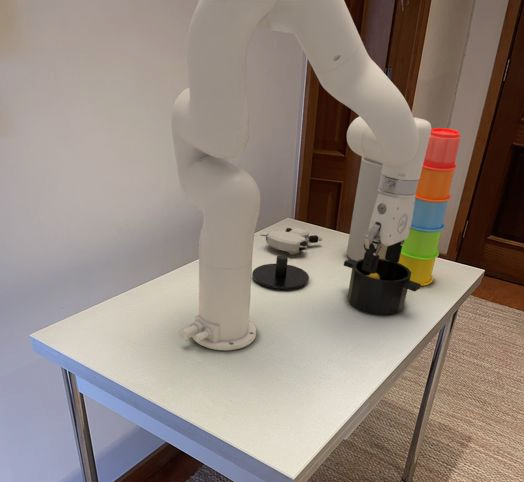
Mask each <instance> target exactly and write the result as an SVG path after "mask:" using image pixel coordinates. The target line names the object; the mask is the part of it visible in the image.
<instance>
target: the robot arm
mask: <svg viewBox="0 0 524 482" xmlns="http://www.w3.org/2000/svg"><path fill="white" fill-rule="evenodd" d="M196 1H197V3H198V4H197V5H196V7H195V10H194V12H193V13H192V17H191V20H190V23H189V26H188V31H187V37H186V65H187V78H188V79H187V81H188V87H187V88H185V89H184V90H183V91H181V93H180V94H179V95H178V96H177V97H176V99H175V102H174V104H173V107H172V111H171V119H170V120H171V122H170V123H171V132H172V133H171V134H172V141H173V147H174V155H175V162H176V167H177V174H178V180H179V185H180V188H181V191H182V193H183V195H184V197H185V198H186V199H187V200H188V201H189V203H191V204H192V206H194V207H195V208H197V210H199V211H200V212H201V213H203V221H202V226H201V230H200V232H199V233H200V234H199V238H198V314H197V315H194V321H193V322H192V323H191V325H190V326H187V327H185V328H183V329H181V330H179V333H178V335H179V337H180V339H182V340H183V341H186V340H188V339H190V338H192V340H193V341H194V342H195V343H197V344H198V345H200V346H202V347H204V348H207V349H209V350H210V349H211V350H215V351H232V350H233V351H234V350H238V349H242V348H245V347H247V346H249V345H251V344H252V343H253V342H254V341H255V339H256V337H257V327H256V325H255V324H254V323H253V322H252V321H251V320H250V309H251V307H250V306H251V291H252V289H251V288H252V274H253V255H254V254H253V252H254V241H255V235H256V234H255V232H256V229H257V228H256V227H257V223H258V219H259V215H260V211H261V204H262V197H261V192H260V188H259V186H258V184H257V182H256V181H255V179H254V178H253V176H251V174H250V173H248V172H247V171H246V170H244V168H241V167H240V166H237V165H235V164H234V163H232V162H229V161H228V160H231V159H234V158H236V157H238V156H239V155H241V153H243V152H244V150H245V149H246V147H247V144H248V141H249V138H250V119H249V118H250V117H249V105H248V90H247V88H248V87H247V69H246V68H247V51H248V49H249V44H250V41H251V38H252V36H253V34H254V32H255V31H256V29H260V30H264V31H265V30H266V31H272V32H279V33H285V34H286V33H287V34H293V35H294V36H295V38H296V40H297V43H298V44H299V46H300V47H301V49H302V51H303V52H304V55H305V57H306V59H307V60H308V62H309V65H310V66H311V68H312V69H313V70H312V71H314V74H315V76H316V77H317V79H318V81H319V83H320V85H321V86H322V88H323V89H324V90H325V91H326V92H327V93H328V94H329V95H331V96H332V97H333V98H334V99H335V100H337V101H338V102H340V103H341V104H342V105H345V107H347V108H349V109H350V110H351V111H353V112H354V113H355V114H356V115H358V117H356V118H354V120H353V121H352V122H351V123H350V124H349V126H348V128H347V131H346V142H347V145H348V147H349V148H350V149H351V151H352V152H353V153H355V154H356V155H358V156H360V157H361V158H362V157H365V158H368V159H370V160H374V161H376V162H379V163H382V164H383V167H382V172H381V177H380V182H379V187H378V191H379V193H378V196H377V199H376V203H375V206H374V209H373V213H372V217H371V221H370V226H369V231H368V232H367V233H366V235H365V236H364V252H365V254H364V259H363V264H362V270H364V271H367V272H369V273H372V274H375V273H376V270H377V266H378V261H379V257H380V256H379V255H378V253H379V252H380V250H381V248H382V246H383V244H384V245H385V246H387V251H386V255H385V259H386V260H389V261H391V262H394V263H398V262H399V258H400V254H401V250H402V245H403V244H404V240H405V239H406V238H407V237H408V236H409V232H410V227H411V223H412V217H413V212H414V205H415V196H416V192H417V188H418V184H419V180H420V175H421V171H422V167H423V163H424V159H425V154H426V150H427V146H428V142H429V138H430V134H431V129H432V125H431V122H430V121H428V120H426V119H423V118H419V117H414V115H413V113H412V110H411V108H410V106H409V104H408V102H407V100H406V98H405V96H404V95H403V94H402V93H401V91H400V90H399V88H398V87H397V86H396V85H395V84H394V83H393V81H391V79H390V78H389V77H388V76H387V75H386V73H384V71H383V70H382V68H381V67H380V66H378V65H377V63H376V62H375V61H374V60H373V59H372V58H371V57H370V55H369V53H368V51H367V49H366V47H365V45H364V42H363V41H362V38H361V36H360V34H359V31H358V29H357V27H356V25H355V23H354V20H353V17H352V15H351V13H350V10H349V8H348V6H347V4H346V2H345V0H196ZM378 239H381V240H378ZM373 243H375V244H378V245H377V247H376V249H375V246H374V244H373Z"/></svg>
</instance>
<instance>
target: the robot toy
mask: <svg viewBox="0 0 524 482" xmlns="http://www.w3.org/2000/svg"><path fill="white" fill-rule="evenodd" d="M259 235H260V237H265V241H266V244H267V245H268V246H269V247H271V248H273V249H274V250H277V251H283V252H287V253H289V254H290V255H296V254H298V253H300V252H303V251H304V250H306V249H308V243H310V244H315V243H319V242H321V241H323V237H320V236H318V235H315V234H314V235H310V232H309V230H307V229H304V228H300V227H294V228H291V227H286V229H285V231H284V230H273V231H270V232H268V233H267V234H262V233H261V234H259Z"/></svg>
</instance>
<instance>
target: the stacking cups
mask: <svg viewBox="0 0 524 482" xmlns="http://www.w3.org/2000/svg"><path fill="white" fill-rule="evenodd" d="M460 134H461V132H460V131H458V130H456V129H453V128H446V127H433V128H432V127H431V134H430V138H429V142H428V146H427V150H426V154H425V159H424V163H423V167H422V171H421V175H420V180H419V184H418V188H417V192H416V196H415V205H414V212H413V217H412V223H411V227H410V232H409V236H408V237H407V238H406V239H405V240H404V244H403V245H402V250H401V254H400V258H399V262H398V263H400V264H402V265H404V266H405V267H407V268H408V269H409V270H410V272H411V277H410V280H411V281H413V282H416V283H419V284H421V286H420V287H425V286H428V285H431V284H432V283H433V282H434V277H433V275H432V273H433V270H434V267H435V262H436V259H437V258H438V257H439V254H440V252H439V250H438V247H439V243H440V239H441V235H442V231H443V230H444V229H445V224H444V219H445V214H446V211H447V207H448V203H449V201H450V200H451V197H452V196H451V195H450V191H451V187H452V182H453V178H454V174H455V170H456V169H457V164H456V162H457V161H456V160H457V155H458V151H459V147H460V141H461V136H462V135H460Z"/></svg>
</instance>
